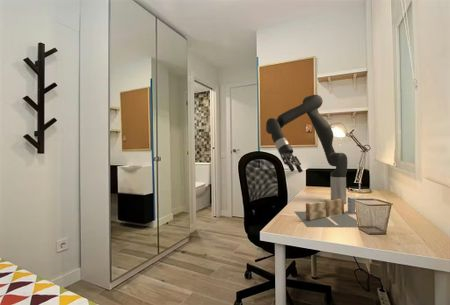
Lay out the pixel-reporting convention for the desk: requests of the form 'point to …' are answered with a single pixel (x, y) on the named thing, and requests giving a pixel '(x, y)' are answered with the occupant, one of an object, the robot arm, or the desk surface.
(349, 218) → the board
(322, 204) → the fence swing section
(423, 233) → the desk surface
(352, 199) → the medicine box
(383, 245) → the desk surface
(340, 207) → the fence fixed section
